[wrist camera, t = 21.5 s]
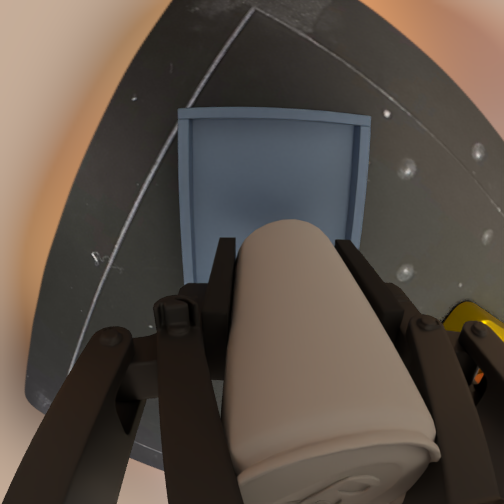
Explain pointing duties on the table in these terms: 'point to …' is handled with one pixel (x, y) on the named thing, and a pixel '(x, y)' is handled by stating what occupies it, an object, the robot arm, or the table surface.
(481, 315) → the element tile
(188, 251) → the slate tray
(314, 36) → the table surface
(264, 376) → the beverage can
